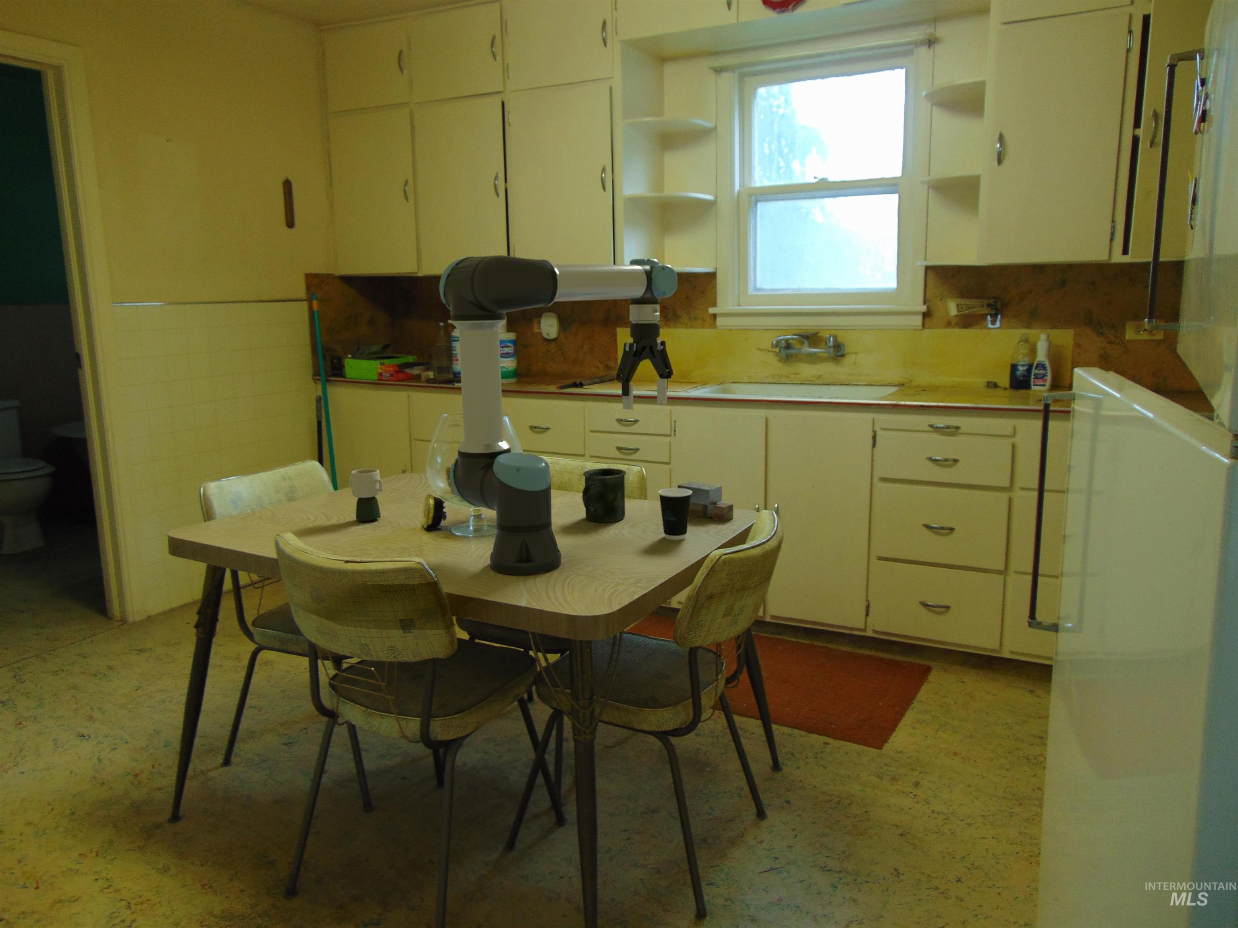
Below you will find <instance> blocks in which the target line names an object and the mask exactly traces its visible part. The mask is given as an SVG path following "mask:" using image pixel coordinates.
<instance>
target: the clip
mask: <svg viewBox="0 0 1238 928" xmlns="http://www.w3.org/2000/svg"><path fill="white" fill-rule="evenodd" d="M677 488H683V489H688V490H691V491H692V494H691V498H690V502H692V503H698V504H704V505H708V514H707V516H706V517H709V518H713V511H714V505H716V504H719V503H722V502H723V486H722V485H717V484H710V483H703V482H696V481H686V482H684V483H680V484H677Z"/></svg>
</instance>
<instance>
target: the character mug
mask: <svg viewBox="0 0 1238 928" xmlns="http://www.w3.org/2000/svg"><path fill="white" fill-rule="evenodd" d="M380 475H381V474H380V469H377V468H360V469H355V470H351V472H350V476H349V477H348V484H349V485H348V487H349V489H351V494H352V496H353V497H355V498H357V500H356V505H355V506H356V508H355V519H356V521H360V522H365V521H372V522H373V521H374V520H376V519H380V518H382V516H381V510H380V506H379V500H378V498H377V497H376V496H379V495H380V493H382V492H384V481H383V479H381V476H380Z"/></svg>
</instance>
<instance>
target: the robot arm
mask: <svg viewBox="0 0 1238 928" xmlns="http://www.w3.org/2000/svg"><path fill="white" fill-rule="evenodd" d="M438 286H439V295H440V299H441V301H442V302H443V304H445V306H446V308H448V309H449V311H450V323H451V324H452V325H453V326H454V327H456V329H457V330H458V343H459V362H460V366H459V367H460V380H461V382H460V383H461V384H460V385H461V403H462V421H463V422H462V423H463V441H462V442H461V444H459V445H458V447H457V456H456V457H455V458H454V462H453V463H451V466H450V469H449V482H450V486H451V489H452V491H453V492H454V494H455V495H456V496H457V497H458V498H459V499H460V500H462V501H464V502H465V503H467V504H468V505H471V506H474V507H478V508H483V509H487V510H491V511H495V516H496V517H495V518H496V520H495V521H496V534H495V538H494V542H493V547H492V551H491V553H490V555H489V568H490V569H491V570H492V571H494V572H496V573H499V574H503V575H510V576H530V575H539V574H545V573H548V572H551V571H554V570H556V569H558V568H559V567H561V565H562V554H561V550H560V549H559V546H558V542H557V538H556V537H555V534H554V533H555V532H554V531H553V523H552V522H553V521H552V517H553V516H552V476H551V469H550V465H549V462H548V461H547V460H546V459H545V458H544V457H541V456H539V455H537V454H533V453H523V452H512V448H511V447H512V445H511V444H510V443H509V442H508V441H507V440H505V438H504V418H503V417H504V416H503V395H502V394H503V393H502V373H501V372H502V369H501V347H500V328H501V327H502V326H503V325H504V323H506V322H507V318H506V313H509V312H516V311H522V310H525V309H531V308H540V307H541V308H543V307H544V308H545V307H550V306H551V305H552V304H553V303H554V302H571V301H572V302H573V301H596V300H597V301H599V300H605V301H606V300H627V299H628V300H629V321H630V322H631V323H630V325H629V336H630V338H631V339H632V342H624V343H623V350H622V351H623V352H622V355H621V358H620V360H619V361H620V362H619V365H618V368H617V371H616V373H615V378H614V380H615V381H617V383H620V384H621V396H622V409H623V410H630V411H631V410H634V384H633V382H632V380H633V378H634V376H635V373H636V371H637V369H639V366H640V364H641V363H642V362H643V361H646V360H648V361H650V364H651V365H652V367H653V368H654V371H655V372H656V374H657V376H658V377H659V378H656V404H657V405H667V404H668V389H669V387H668V386H669V384H668V383H669V381H668V380H670V379H672V376H674V370H673V367H672V363H671V361H670V358H669V354H668V351H667V346H666V345H667V344H666V341H665V340H659V339H658V338H660V337H661V330H660V329H661V324H660V323H659V322H658V321H660V319H661V318H660V317H661V315H660V307H661V306H660V303H661V302H660V301H661V299H663V298H664V299H665V298H669V297H672V295H674V294H675V292H676V290H677V288H678V274H677V272H676V270H675V269H674V267H672V266H671V265H669V264H661V263H660V261H659V260H657V259H655V258H633V259H630V261H629V264H554V263H552V262H551V261H549V260H547V259H537V258H536V259H535V258H525V257H518V256H512V255H504V254H502V255H501V254H500V255H488V256H487V255H486V256H485V255H484V256H473V255H472V256H466V257H463V258H459V259H456V260H454V261H452V262H450V264H448V265H447V267H446V268H444V270H443V273H442V274H441V277H440V281H439V285H438Z"/></svg>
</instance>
